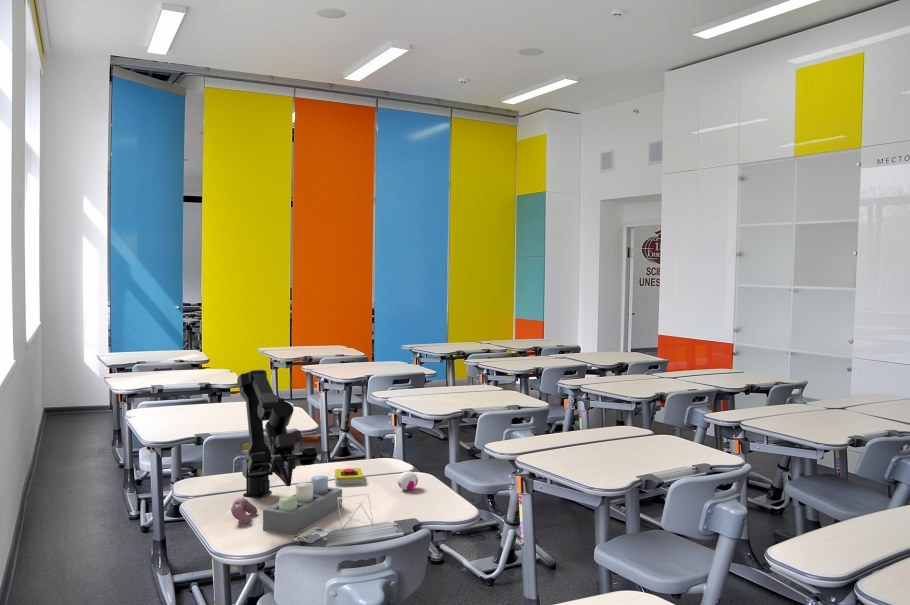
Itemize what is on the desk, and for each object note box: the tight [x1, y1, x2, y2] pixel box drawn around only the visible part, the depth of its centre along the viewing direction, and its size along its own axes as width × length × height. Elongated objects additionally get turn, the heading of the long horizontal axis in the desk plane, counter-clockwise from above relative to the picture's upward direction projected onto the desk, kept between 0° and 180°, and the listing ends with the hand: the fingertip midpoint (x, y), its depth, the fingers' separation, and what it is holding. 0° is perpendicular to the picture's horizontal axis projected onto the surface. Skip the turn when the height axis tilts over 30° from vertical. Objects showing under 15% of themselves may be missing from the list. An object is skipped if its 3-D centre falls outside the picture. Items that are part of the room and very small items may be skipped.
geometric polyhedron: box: [337, 493, 374, 530], centre depth 193 cm, size 10×9×8 cm
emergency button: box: [334, 467, 365, 488], centre depth 236 cm, size 9×4×15 cm
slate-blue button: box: [310, 475, 329, 495], centre depth 205 cm, size 5×5×5 cm
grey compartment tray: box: [262, 486, 343, 536], centre depth 198 cm, size 10×25×6 cm, turn 159°
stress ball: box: [397, 470, 419, 491], centre depth 226 cm, size 8×8×7 cm
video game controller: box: [230, 496, 258, 525], centre depth 196 cm, size 10×5×7 cm, turn 5°
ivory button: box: [295, 482, 313, 503], centre depth 198 cm, size 5×5×5 cm
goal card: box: [292, 526, 334, 542], centre depth 184 cm, size 6×10×1 cm, turn 159°
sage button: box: [278, 495, 297, 512], centre depth 190 cm, size 5×5×5 cm
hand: (289, 485), depth 190 cm, fingers closed
